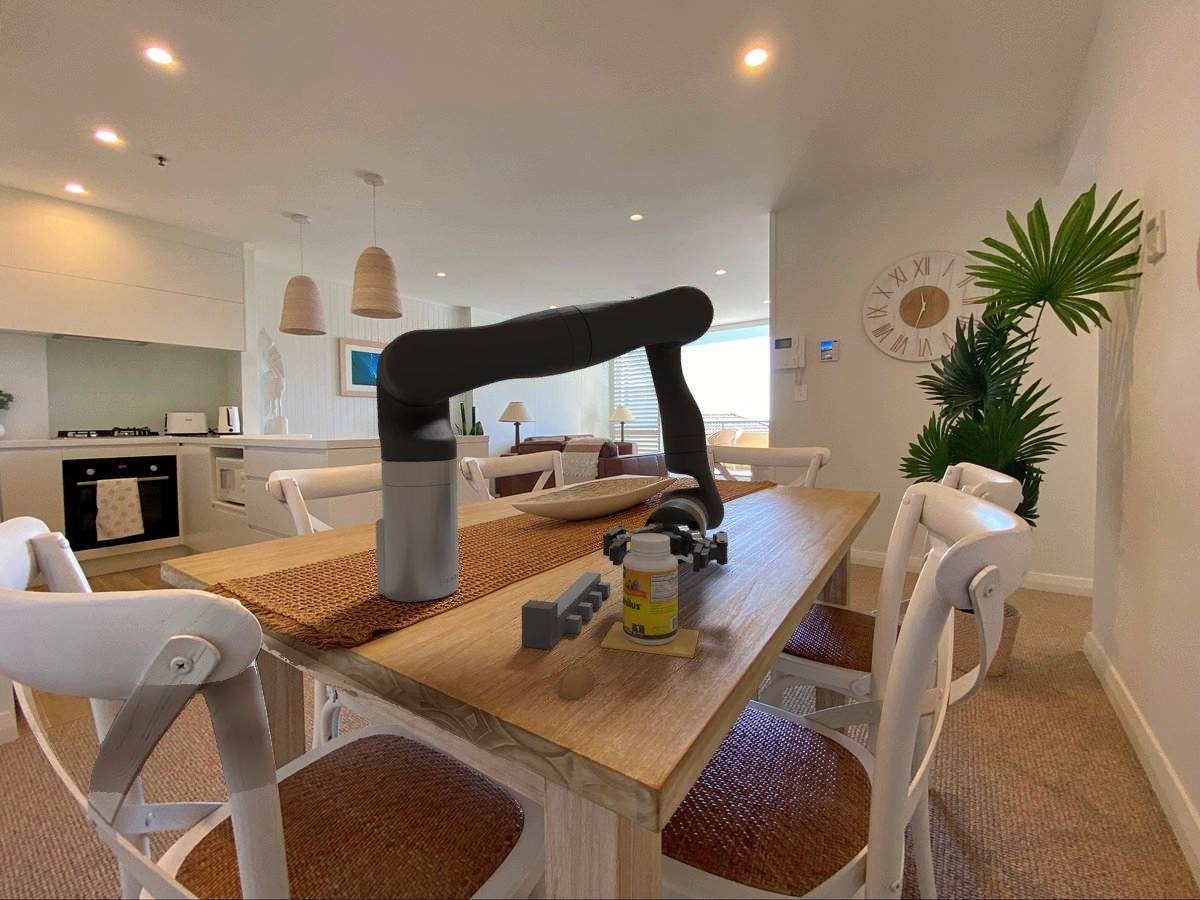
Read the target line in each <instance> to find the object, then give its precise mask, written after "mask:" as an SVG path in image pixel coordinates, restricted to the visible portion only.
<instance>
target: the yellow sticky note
mask: <svg viewBox="0 0 1200 900" xmlns="http://www.w3.org/2000/svg"><path fill="white" fill-rule="evenodd" d="M699 635H700V630H697V629H696V630H695V629H687V628H679V627H678V629H677V635H676V637H675V638H674V639H673V640H672V641H670V642H668V643H665V644H661V645H643V644H639V643H635V642H633V641H631V640H629V639H628V638H627V637H626V636H625V634H624V632H623V621H614V623H613V625H612V626H611V628H610V629H609V631H608V632H607V634H606V636H605V637H604V638H603V640H602V641H601V643H600V648H608V649H615V650H622V651H631V652H632V651H633V652H639V653H648V654H657V655H664V656H673V657H674V656H675V657H679V658H688V659H694V657H695V651H696V648H697V643H698V639H699Z"/></svg>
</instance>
